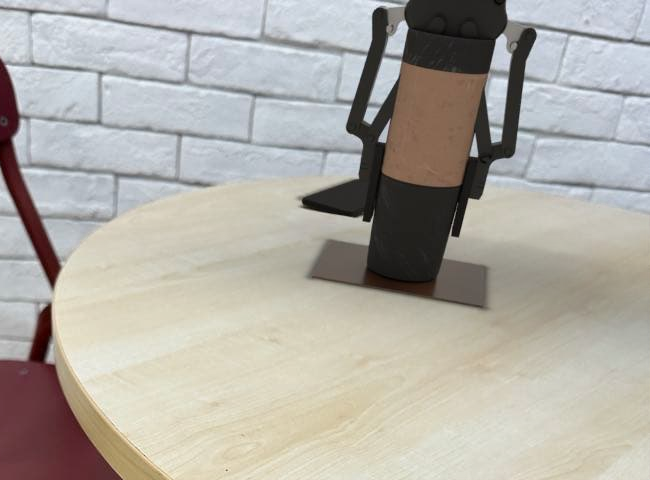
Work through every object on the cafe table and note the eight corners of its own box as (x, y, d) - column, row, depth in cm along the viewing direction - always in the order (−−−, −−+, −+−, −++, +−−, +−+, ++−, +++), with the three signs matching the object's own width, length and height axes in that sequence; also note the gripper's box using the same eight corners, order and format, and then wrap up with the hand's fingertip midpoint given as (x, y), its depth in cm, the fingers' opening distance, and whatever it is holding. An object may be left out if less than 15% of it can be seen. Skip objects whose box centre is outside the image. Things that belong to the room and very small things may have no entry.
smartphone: (404, 191, 109) (350, 212, 98) (403, 197, 109) (349, 219, 99) (357, 178, 111) (300, 197, 101) (356, 184, 112) (298, 204, 101)
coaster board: (481, 275, 87) (483, 265, 87) (480, 316, 78) (483, 306, 77) (329, 249, 89) (330, 239, 89) (310, 286, 80) (311, 275, 79)
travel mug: (354, 270, 81) (397, 28, 69) (374, 250, 87) (417, 23, 75) (432, 288, 79) (490, 43, 67) (447, 266, 85) (503, 36, 73)
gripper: (339, -86, 65) (298, 217, 79) (612, -52, 63) (521, 255, 76) (351, -84, 71) (311, 198, 85) (601, -53, 69) (519, 232, 82)
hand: (411, 225), depth 80 cm, fingers closed on travel mug, 8 cm apart
